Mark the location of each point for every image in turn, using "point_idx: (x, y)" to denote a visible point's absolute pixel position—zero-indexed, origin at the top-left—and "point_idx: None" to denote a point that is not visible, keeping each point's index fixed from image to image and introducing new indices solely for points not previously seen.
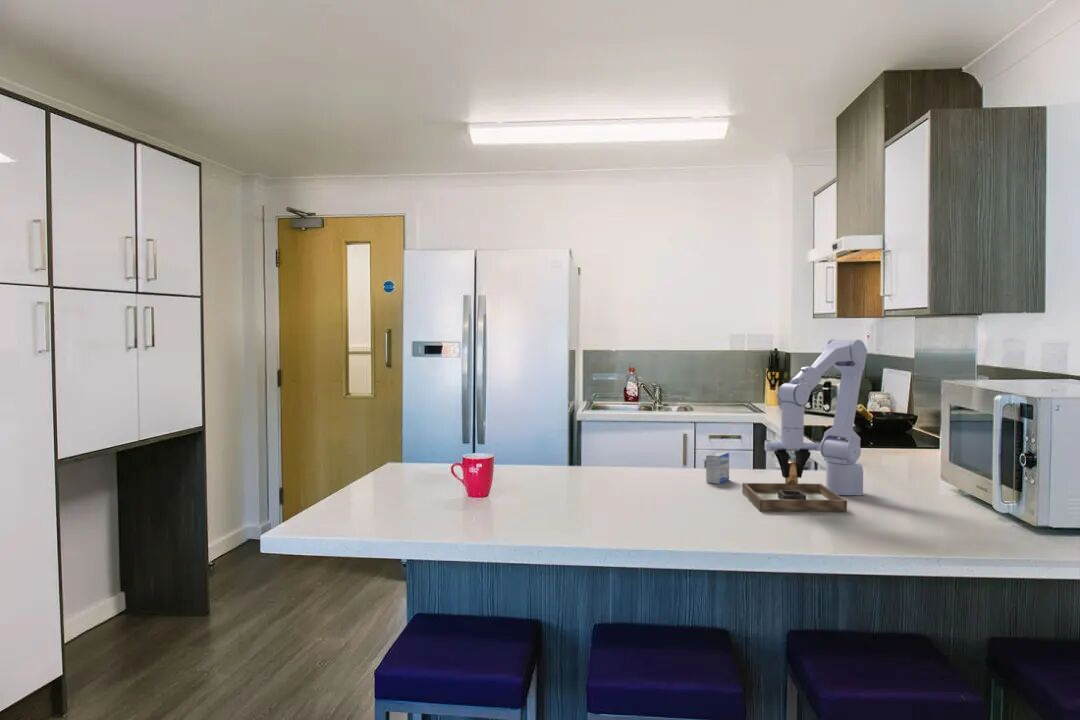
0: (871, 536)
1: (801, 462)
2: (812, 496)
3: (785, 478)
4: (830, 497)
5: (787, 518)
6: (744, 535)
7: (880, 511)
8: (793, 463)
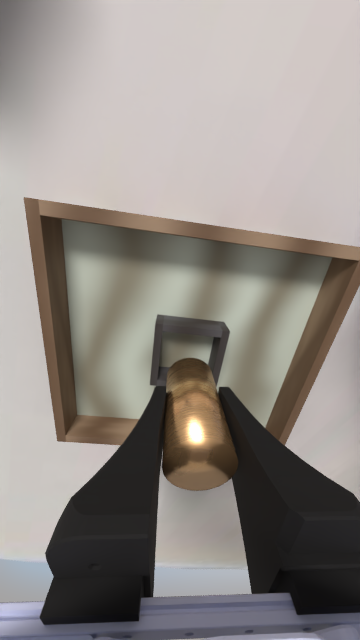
0: (214, 525)
1: (239, 503)
2: (274, 310)
3: (166, 389)
4: (296, 367)
5: None
6: (20, 520)
7: (343, 425)
8: (194, 489)
